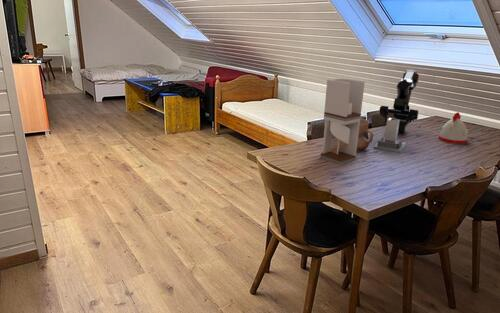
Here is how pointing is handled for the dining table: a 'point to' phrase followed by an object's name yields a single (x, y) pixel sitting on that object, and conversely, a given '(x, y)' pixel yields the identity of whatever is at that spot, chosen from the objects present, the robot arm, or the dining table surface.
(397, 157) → the dining table surface
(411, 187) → the dining table surface
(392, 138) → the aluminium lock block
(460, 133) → the cream and red dome
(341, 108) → the display case
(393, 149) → the coupler cradle
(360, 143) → the ceramic jug
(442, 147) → the dining table surface
